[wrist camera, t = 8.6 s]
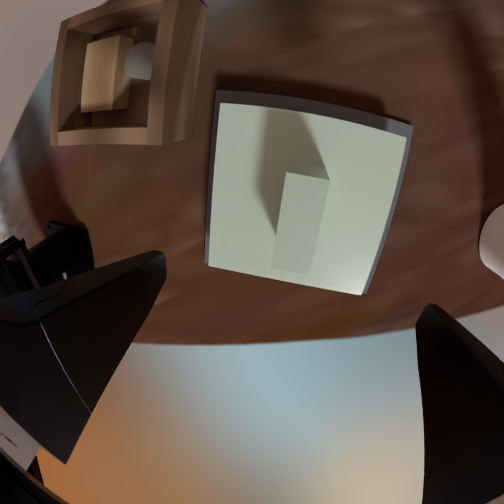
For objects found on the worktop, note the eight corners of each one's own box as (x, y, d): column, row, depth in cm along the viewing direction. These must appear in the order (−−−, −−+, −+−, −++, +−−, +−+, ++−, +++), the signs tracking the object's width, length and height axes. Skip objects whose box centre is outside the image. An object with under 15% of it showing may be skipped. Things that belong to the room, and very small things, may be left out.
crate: (88, 136, 19) (50, 146, 15) (98, 28, 14) (61, 21, 10) (192, 137, 18) (161, 145, 14) (208, 8, 13) (181, -15, 9)
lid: (217, 251, 21) (189, 294, 16) (230, 104, 16) (198, 100, 11) (357, 278, 20) (368, 329, 15) (395, 135, 15) (431, 144, 10)
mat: (205, 260, 22) (204, 262, 22) (217, 90, 16) (216, 89, 16) (365, 291, 21) (366, 293, 20) (411, 126, 15) (413, 126, 14)
